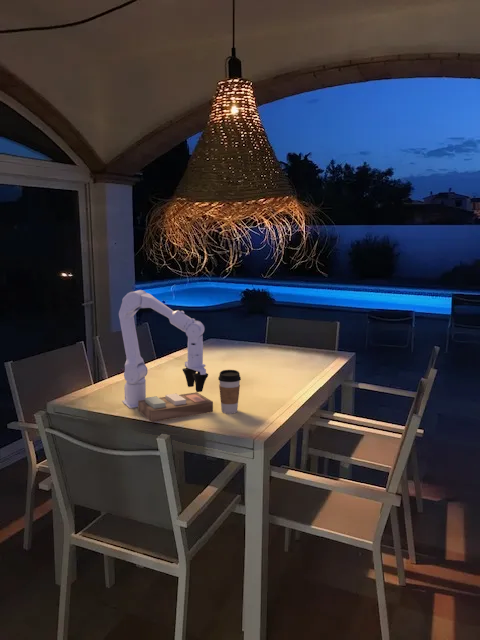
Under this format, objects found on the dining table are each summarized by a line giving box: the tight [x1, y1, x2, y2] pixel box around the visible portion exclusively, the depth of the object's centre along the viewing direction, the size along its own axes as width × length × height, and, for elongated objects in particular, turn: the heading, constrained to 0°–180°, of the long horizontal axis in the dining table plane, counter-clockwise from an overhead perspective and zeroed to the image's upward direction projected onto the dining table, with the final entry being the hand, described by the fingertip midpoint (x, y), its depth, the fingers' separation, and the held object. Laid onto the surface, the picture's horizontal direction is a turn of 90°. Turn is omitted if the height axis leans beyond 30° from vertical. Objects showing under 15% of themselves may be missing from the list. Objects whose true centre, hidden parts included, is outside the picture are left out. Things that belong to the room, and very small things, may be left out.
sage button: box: [145, 396, 166, 409], centre depth 195 cm, size 9×4×4 cm, turn 30°
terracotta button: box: [185, 394, 206, 402], centre depth 203 cm, size 9×4×4 cm, turn 30°
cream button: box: [164, 393, 186, 406], centre depth 199 cm, size 9×4×4 cm, turn 30°
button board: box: [137, 392, 214, 423], centre depth 199 cm, size 14×24×4 cm, turn 120°
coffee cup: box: [217, 369, 242, 415], centre depth 199 cm, size 8×8×15 cm
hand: (195, 389), depth 202 cm, fingers open, 7 cm apart
